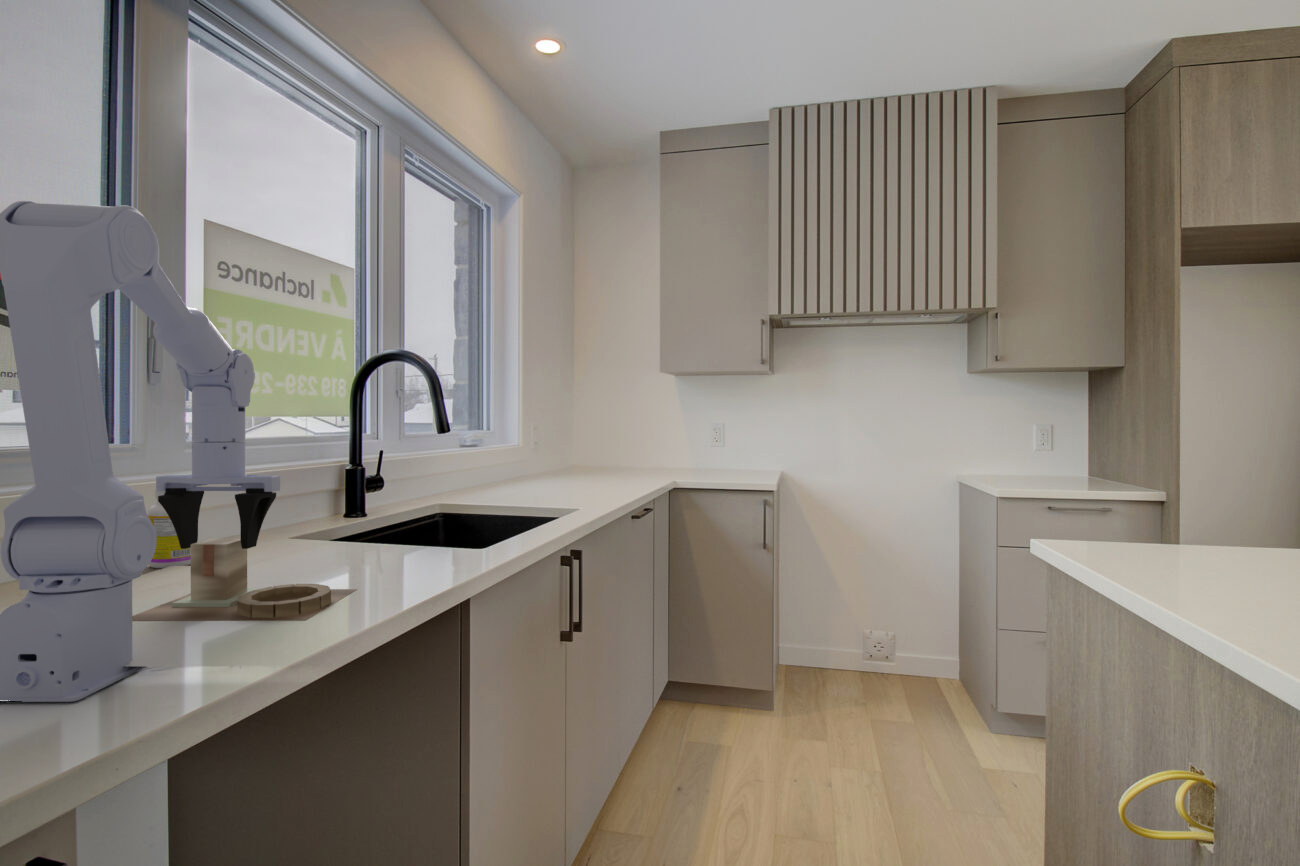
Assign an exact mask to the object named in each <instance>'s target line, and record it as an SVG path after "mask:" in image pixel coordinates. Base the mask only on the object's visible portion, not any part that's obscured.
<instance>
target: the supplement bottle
mask: <svg viewBox="0 0 1300 866" xmlns="http://www.w3.org/2000/svg"><path fill="white" fill-rule="evenodd" d="M164 493H165V491H156V489H155V490H154V497H155V499H156V503H155V504H153V505H151V506H150V507H149V508H148V510H147V515H148V517H149V519H150V520H151V522H152V524H153V526H154V528H155V531H156V539H157V540H156V549H155V553H154V555H153V558H152V560H151V561H150V563H149V564H148V566H149V567H151V568H152V569H165V568H166V569H167V568H169V567H174V566H175V567H179V566H180V567H186V566H189V565H190V566H191V547H190V548H187V549H181V547H180V544H179V540H178V537H177V534H176V531H175V528H174V526H173V524H172V521H171V519H170V517H169V516H168V514H167V512H166V511H165V509H164V508H163V507H162V505H161V504H160V503H159V502H158V496H161V495H164Z"/></svg>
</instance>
